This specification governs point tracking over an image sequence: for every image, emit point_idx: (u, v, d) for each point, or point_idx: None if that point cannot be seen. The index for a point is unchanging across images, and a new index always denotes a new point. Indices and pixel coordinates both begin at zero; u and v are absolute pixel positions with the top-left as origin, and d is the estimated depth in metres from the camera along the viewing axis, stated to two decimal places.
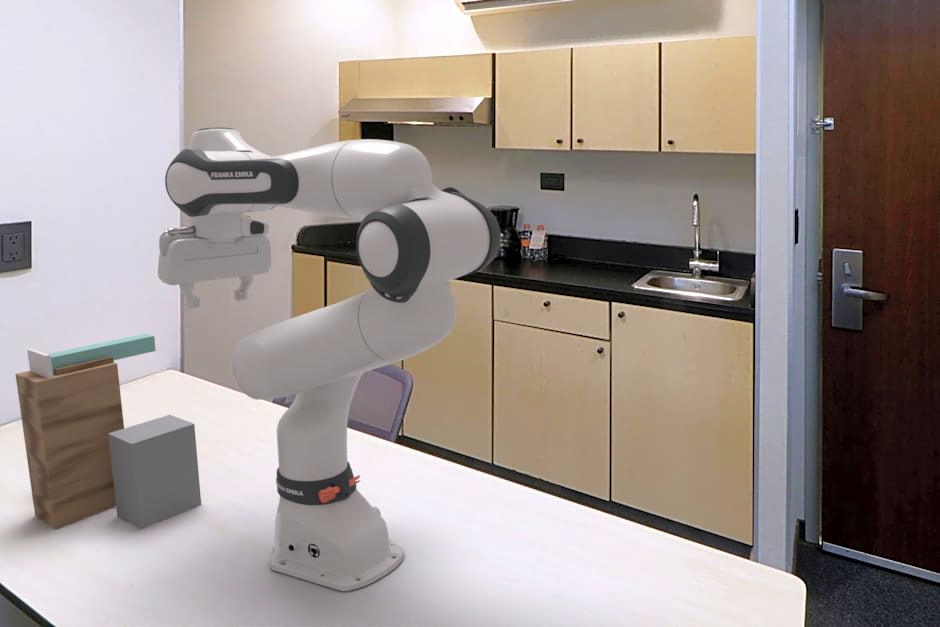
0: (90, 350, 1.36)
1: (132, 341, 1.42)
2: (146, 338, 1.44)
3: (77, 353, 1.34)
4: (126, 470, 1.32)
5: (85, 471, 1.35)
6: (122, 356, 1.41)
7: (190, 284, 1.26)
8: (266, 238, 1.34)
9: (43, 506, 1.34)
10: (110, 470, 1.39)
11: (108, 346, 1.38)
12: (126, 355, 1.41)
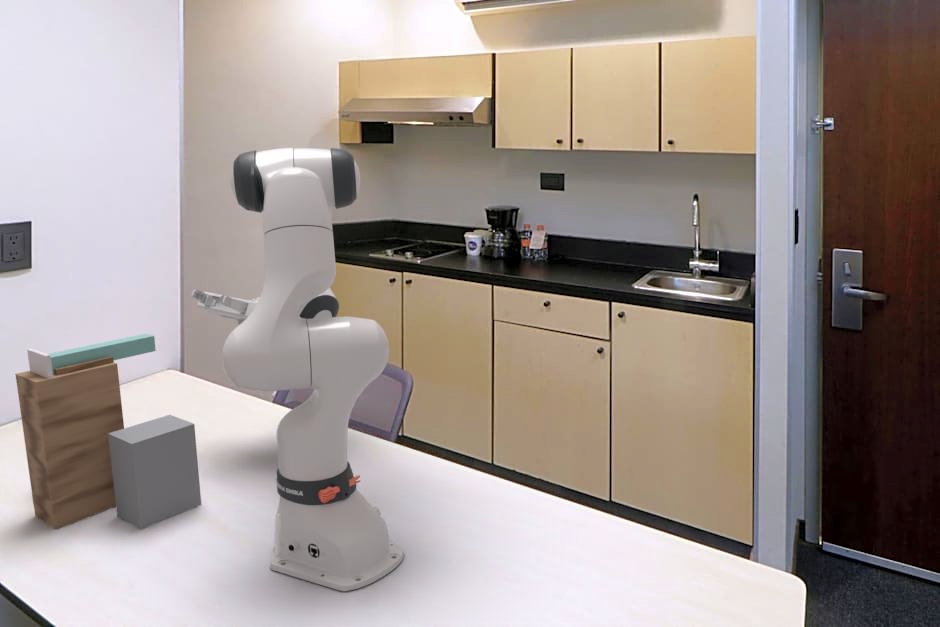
0: (90, 350, 1.36)
1: (132, 341, 1.42)
2: (146, 338, 1.44)
3: (77, 353, 1.34)
4: (126, 470, 1.32)
5: (85, 471, 1.35)
6: (122, 356, 1.41)
7: None
8: None
9: (43, 506, 1.34)
10: (110, 470, 1.39)
11: (108, 346, 1.38)
12: (126, 355, 1.41)
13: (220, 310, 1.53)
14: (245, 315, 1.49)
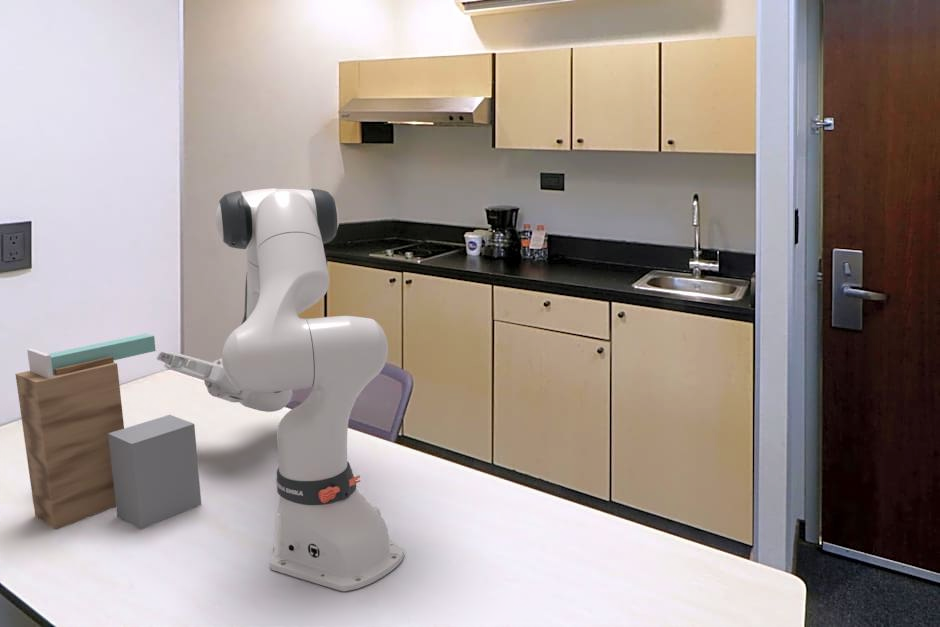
0: (90, 350, 1.36)
1: (132, 341, 1.42)
2: (146, 338, 1.44)
3: (77, 353, 1.34)
4: (126, 470, 1.32)
5: (85, 471, 1.35)
6: (122, 356, 1.41)
7: (176, 356, 1.57)
8: None
9: (43, 506, 1.34)
10: (110, 470, 1.39)
11: (108, 346, 1.38)
12: (126, 355, 1.41)
13: (185, 372, 1.54)
14: (209, 378, 1.50)
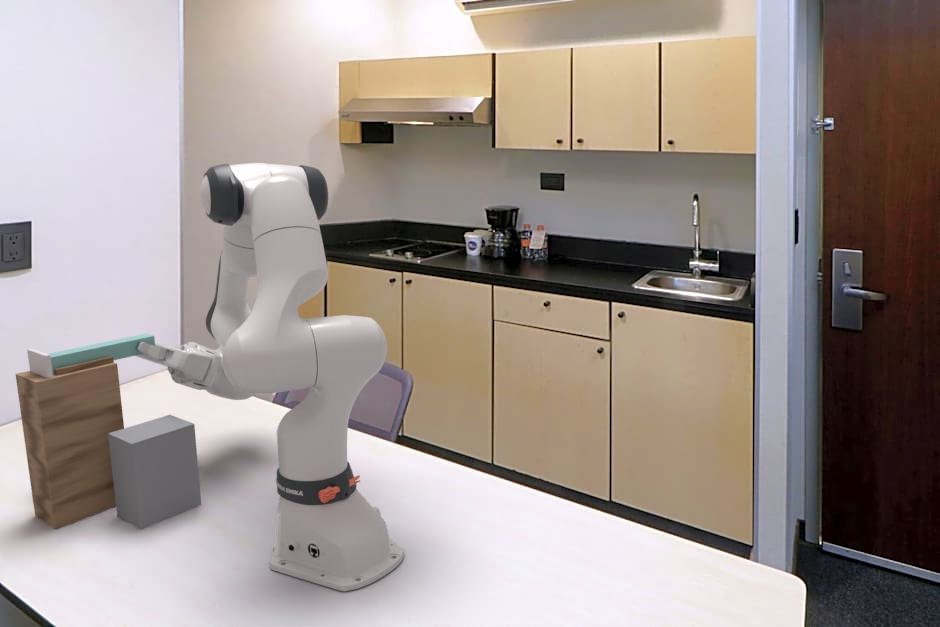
0: (90, 350, 1.36)
1: (132, 341, 1.42)
2: (146, 338, 1.44)
3: (77, 353, 1.34)
4: (126, 470, 1.32)
5: (85, 471, 1.35)
6: (122, 356, 1.40)
7: None
8: (210, 356, 1.48)
9: (43, 506, 1.34)
10: (110, 470, 1.39)
11: (108, 346, 1.38)
12: (126, 355, 1.41)
13: (147, 357, 1.47)
14: (170, 364, 1.42)
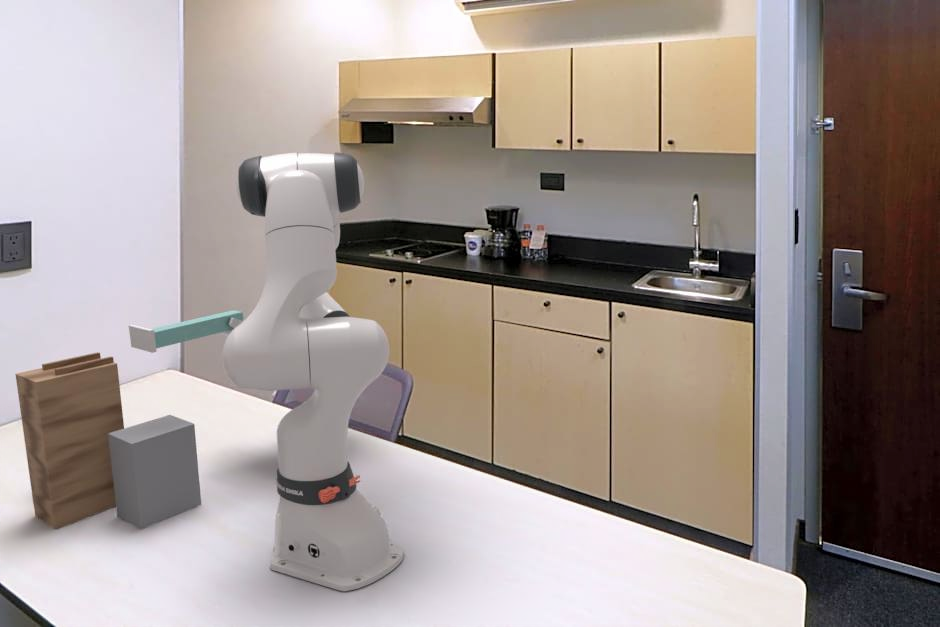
0: (187, 325, 1.40)
1: (223, 317, 1.46)
2: (235, 314, 1.48)
3: (175, 328, 1.38)
4: (126, 470, 1.32)
5: (85, 471, 1.35)
6: (215, 331, 1.45)
7: None
8: None
9: (43, 506, 1.34)
10: (110, 470, 1.39)
11: (202, 322, 1.42)
12: (218, 331, 1.45)
13: None
14: None
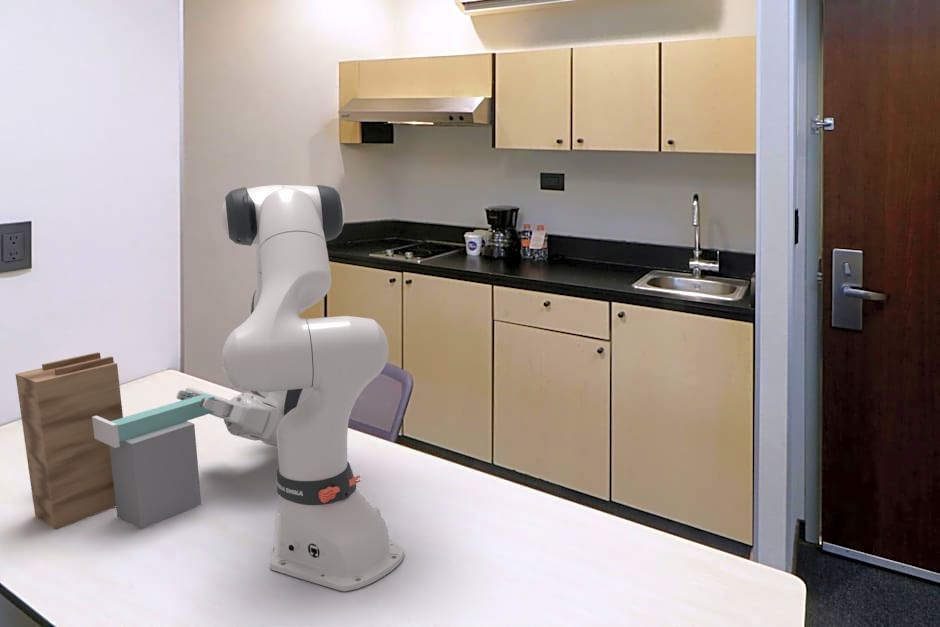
0: (154, 415, 1.34)
1: (193, 403, 1.40)
2: None
3: (141, 419, 1.32)
4: (126, 470, 1.32)
5: (85, 471, 1.35)
6: (184, 419, 1.39)
7: (197, 394, 1.48)
8: (268, 409, 1.46)
9: (43, 506, 1.34)
10: (110, 470, 1.39)
11: (171, 410, 1.37)
12: (188, 418, 1.40)
13: None
14: (230, 419, 1.40)
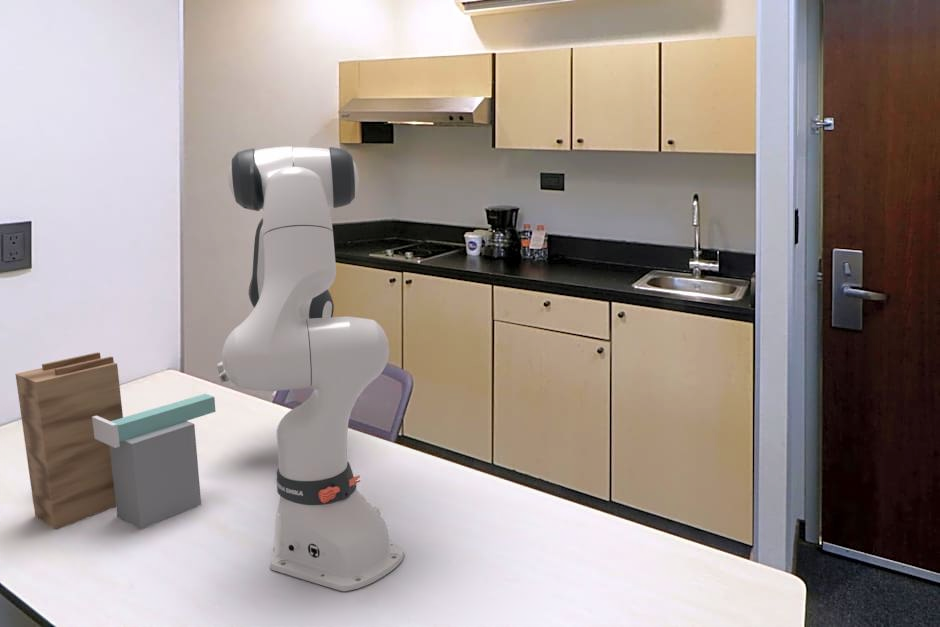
0: (154, 415, 1.34)
1: (193, 403, 1.40)
2: (207, 399, 1.42)
3: (141, 419, 1.32)
4: (126, 470, 1.32)
5: (85, 471, 1.35)
6: (184, 419, 1.39)
7: None
8: None
9: (43, 506, 1.34)
10: (110, 470, 1.39)
11: (171, 410, 1.37)
12: (188, 418, 1.40)
13: None
14: None
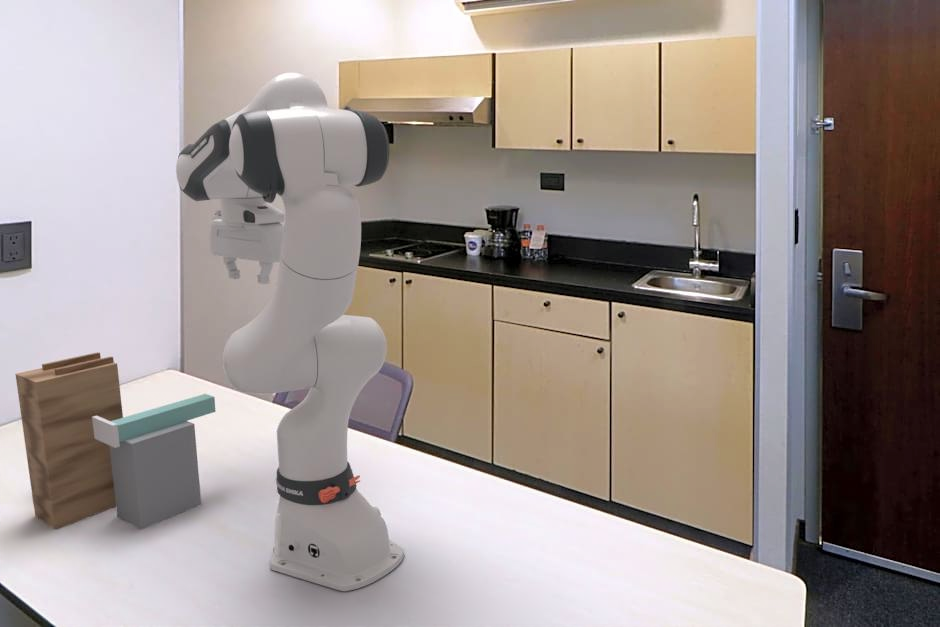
0: (154, 415, 1.34)
1: (193, 403, 1.40)
2: (207, 399, 1.42)
3: (141, 419, 1.32)
4: (126, 470, 1.32)
5: (85, 471, 1.35)
6: (184, 419, 1.39)
7: (225, 257, 1.53)
8: (261, 228, 1.42)
9: (43, 506, 1.34)
10: (110, 470, 1.39)
11: (171, 410, 1.37)
12: (188, 418, 1.40)
13: None
14: None
